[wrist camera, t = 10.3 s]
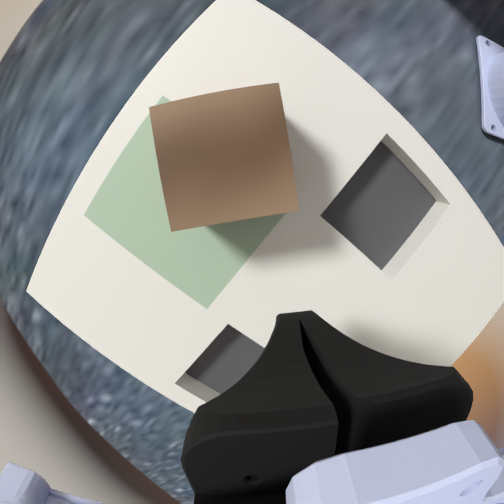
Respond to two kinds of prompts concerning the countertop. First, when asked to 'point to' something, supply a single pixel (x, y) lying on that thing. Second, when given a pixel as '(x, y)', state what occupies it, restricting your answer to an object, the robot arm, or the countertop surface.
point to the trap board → (269, 226)
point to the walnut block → (224, 156)
